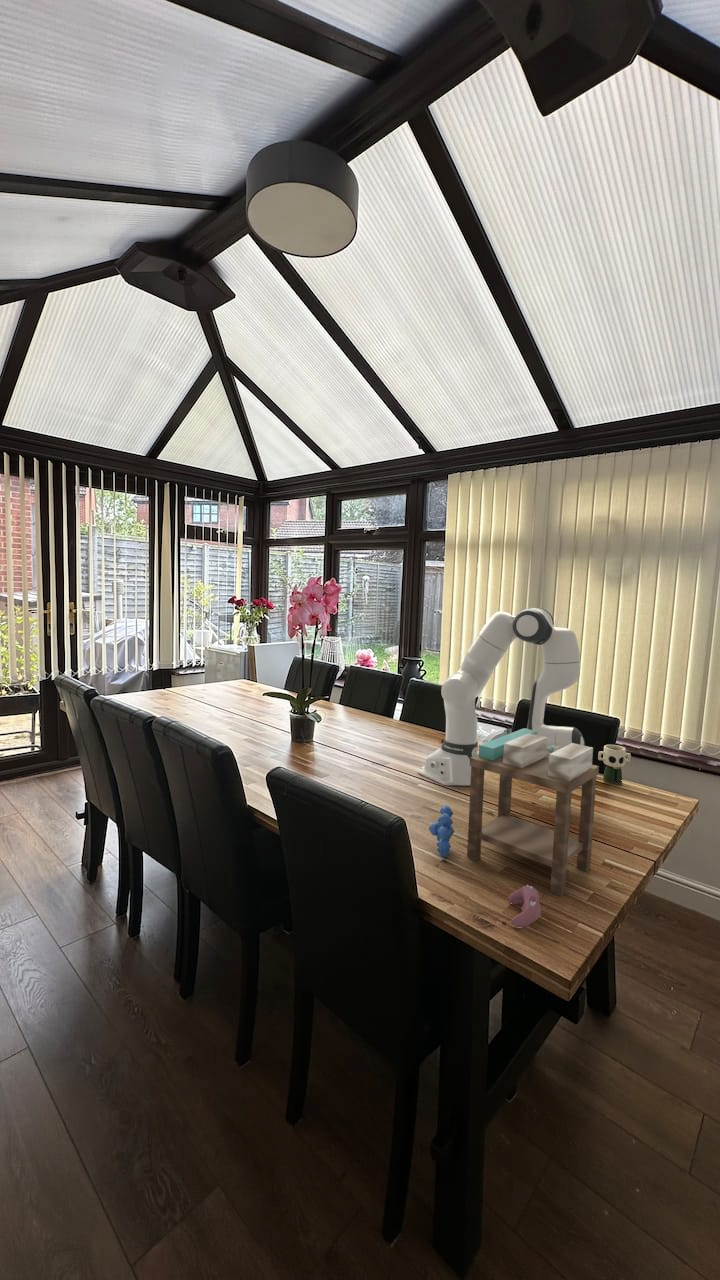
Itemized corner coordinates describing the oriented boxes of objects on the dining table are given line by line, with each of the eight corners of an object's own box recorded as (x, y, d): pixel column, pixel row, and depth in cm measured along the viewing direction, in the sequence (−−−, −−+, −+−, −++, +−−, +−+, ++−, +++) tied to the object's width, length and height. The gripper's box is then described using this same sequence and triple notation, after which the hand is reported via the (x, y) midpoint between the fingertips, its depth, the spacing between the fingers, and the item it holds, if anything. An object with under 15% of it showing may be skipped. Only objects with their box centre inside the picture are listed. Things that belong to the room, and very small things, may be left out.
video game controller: (529, 939, 106) (547, 912, 105) (509, 926, 106) (527, 899, 105) (524, 910, 116) (541, 885, 114) (505, 898, 116) (521, 873, 115)
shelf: (465, 856, 135) (470, 738, 132) (500, 833, 148) (506, 725, 145) (561, 897, 118) (570, 762, 115) (591, 867, 131) (600, 746, 128)
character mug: (599, 785, 187) (602, 749, 186) (593, 777, 194) (596, 743, 193) (632, 787, 186) (634, 751, 184) (624, 780, 193) (627, 745, 191)
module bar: (478, 756, 134) (479, 745, 133) (523, 738, 151) (523, 728, 150) (492, 760, 131) (493, 748, 130) (536, 741, 148) (537, 731, 148)
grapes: (430, 839, 144) (431, 797, 142) (455, 843, 142) (457, 800, 141) (424, 860, 132) (426, 814, 131) (452, 864, 131) (454, 818, 130)
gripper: (524, 743, 171) (507, 728, 161) (588, 758, 157) (574, 744, 147) (518, 761, 169) (501, 748, 160) (583, 779, 155) (568, 765, 145)
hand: (536, 746), depth 153 cm, fingers open, 8 cm apart
